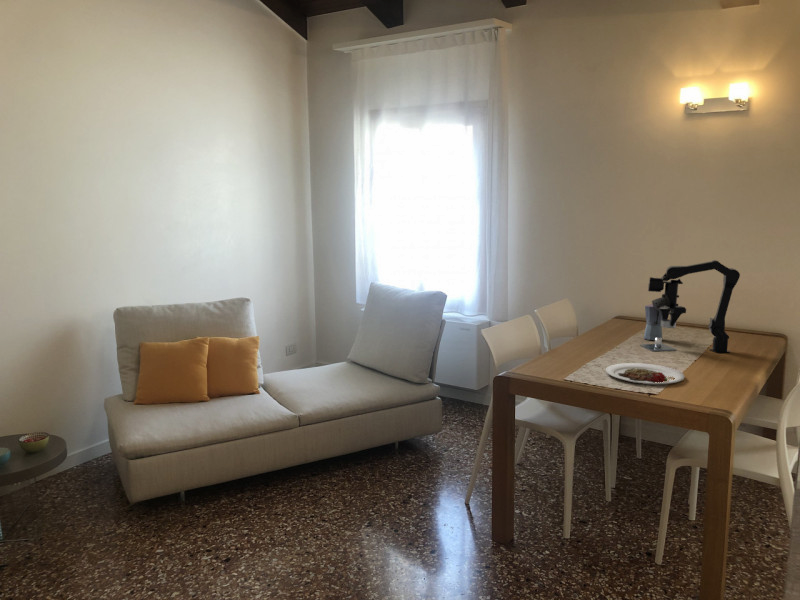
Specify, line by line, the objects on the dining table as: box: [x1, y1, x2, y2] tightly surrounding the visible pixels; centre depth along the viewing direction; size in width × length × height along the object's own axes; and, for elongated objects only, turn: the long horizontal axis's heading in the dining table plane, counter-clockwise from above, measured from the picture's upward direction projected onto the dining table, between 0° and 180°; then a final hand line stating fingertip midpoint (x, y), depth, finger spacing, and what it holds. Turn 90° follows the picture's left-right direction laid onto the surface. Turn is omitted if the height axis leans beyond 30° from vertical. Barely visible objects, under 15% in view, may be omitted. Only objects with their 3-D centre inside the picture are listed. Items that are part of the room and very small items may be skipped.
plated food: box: [605, 362, 685, 385], centre depth 260 cm, size 30×30×3 cm
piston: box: [639, 337, 677, 352], centre depth 309 cm, size 12×12×5 cm
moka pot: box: [643, 303, 663, 341], centre depth 326 cm, size 10×15×20 cm, turn 174°
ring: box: [661, 319, 677, 329], centre depth 307 cm, size 6×6×3 cm
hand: (668, 324), depth 307 cm, fingers closed on ring, 6 cm apart
